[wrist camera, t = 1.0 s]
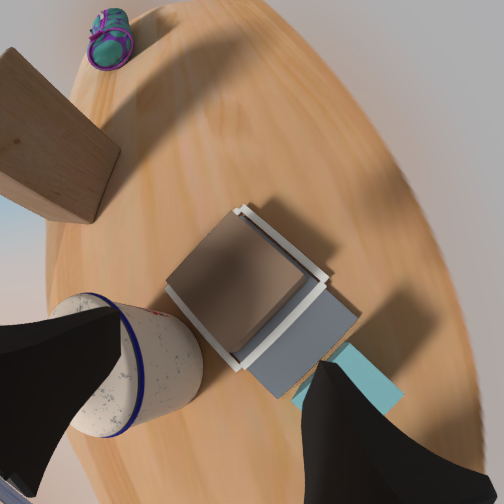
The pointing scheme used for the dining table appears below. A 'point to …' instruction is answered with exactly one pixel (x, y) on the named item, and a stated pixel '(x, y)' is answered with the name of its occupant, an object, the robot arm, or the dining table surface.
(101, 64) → the pencil case
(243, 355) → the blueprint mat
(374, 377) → the teal cube
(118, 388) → the teacup with lid
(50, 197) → the wooden block
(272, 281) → the walnut base
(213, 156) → the dining table surface
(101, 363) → the robot arm
